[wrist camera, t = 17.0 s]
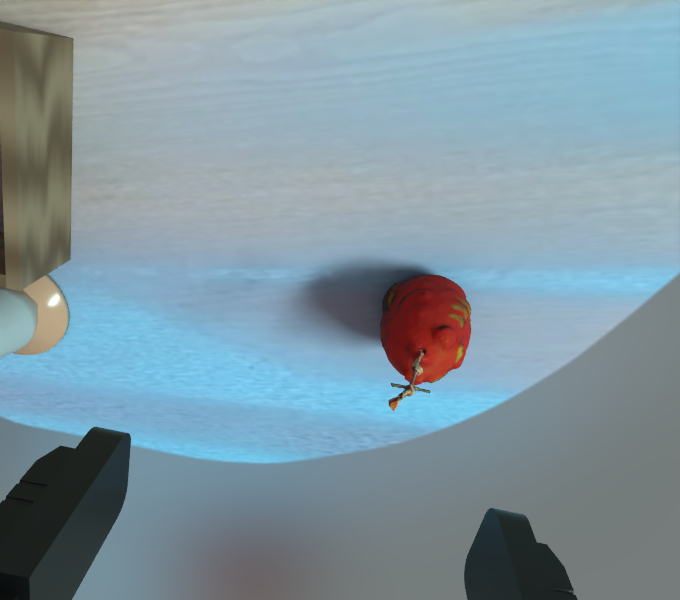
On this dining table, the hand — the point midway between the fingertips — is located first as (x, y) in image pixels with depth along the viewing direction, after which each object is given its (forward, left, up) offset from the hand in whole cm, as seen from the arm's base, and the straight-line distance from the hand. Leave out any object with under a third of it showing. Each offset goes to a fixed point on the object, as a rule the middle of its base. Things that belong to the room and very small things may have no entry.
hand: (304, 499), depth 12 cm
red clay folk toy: (+8, +8, -32) cm, 34 cm away
